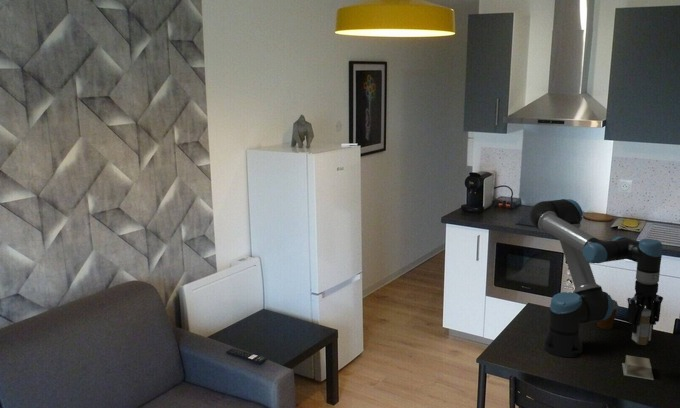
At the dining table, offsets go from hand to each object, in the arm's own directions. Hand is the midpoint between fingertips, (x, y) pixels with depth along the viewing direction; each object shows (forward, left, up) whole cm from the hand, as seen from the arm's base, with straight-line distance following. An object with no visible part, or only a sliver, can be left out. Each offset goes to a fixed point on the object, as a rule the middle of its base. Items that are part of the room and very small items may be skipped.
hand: (641, 339), depth 214 cm
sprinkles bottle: (0, 0, -1) cm, 1 cm away
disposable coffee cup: (-10, +41, -14) cm, 45 cm away
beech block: (0, 0, -13) cm, 13 cm away
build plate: (0, 0, -14) cm, 14 cm away
